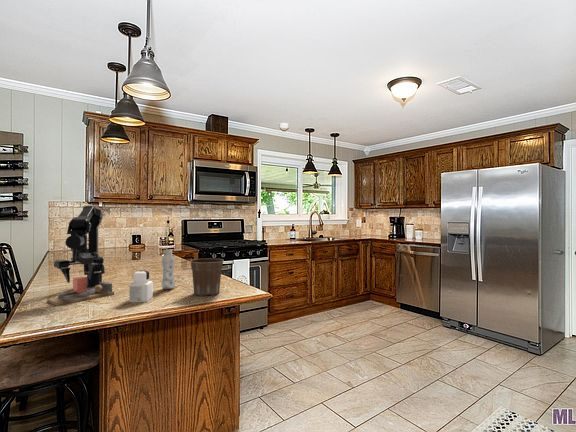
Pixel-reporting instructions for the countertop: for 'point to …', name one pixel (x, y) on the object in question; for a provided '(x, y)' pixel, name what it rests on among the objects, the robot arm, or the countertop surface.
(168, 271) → the plastic bottle
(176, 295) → the countertop surface
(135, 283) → the container
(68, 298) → the nutcracker base
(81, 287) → the block
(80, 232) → the robot arm
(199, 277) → the plant pot
